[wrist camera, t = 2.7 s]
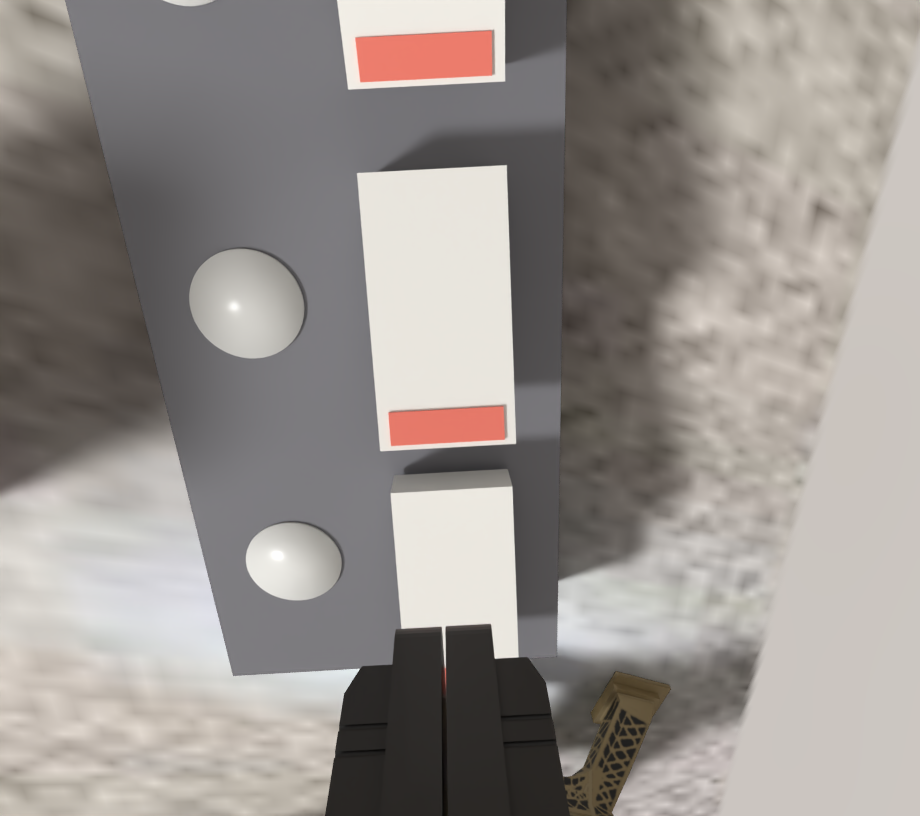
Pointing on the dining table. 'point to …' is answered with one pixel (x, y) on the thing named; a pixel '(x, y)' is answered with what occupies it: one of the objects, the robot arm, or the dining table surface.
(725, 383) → the dining table surface
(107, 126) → the switch panel
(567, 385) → the dining table surface
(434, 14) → the rocker
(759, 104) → the dining table surface
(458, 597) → the block
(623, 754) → the eiffel tower
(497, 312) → the block
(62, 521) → the dining table surface
